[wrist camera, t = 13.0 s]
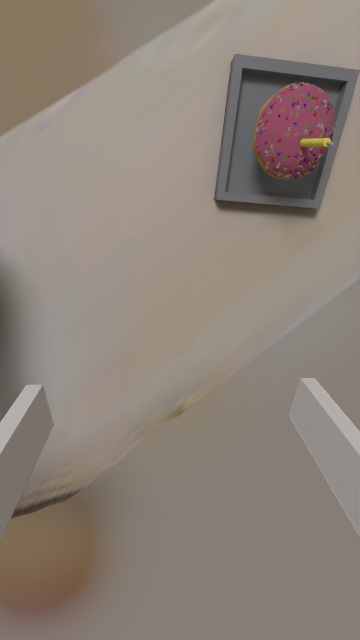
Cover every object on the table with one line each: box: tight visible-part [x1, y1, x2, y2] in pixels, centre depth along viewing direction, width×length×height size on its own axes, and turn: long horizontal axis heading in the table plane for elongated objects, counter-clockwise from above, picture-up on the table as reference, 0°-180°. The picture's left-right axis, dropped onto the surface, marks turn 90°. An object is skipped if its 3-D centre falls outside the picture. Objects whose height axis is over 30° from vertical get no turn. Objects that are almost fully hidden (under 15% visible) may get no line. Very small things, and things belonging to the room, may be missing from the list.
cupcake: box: [252, 82, 336, 179], centre depth 26 cm, size 9×8×12 cm
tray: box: [214, 54, 360, 209], centre depth 31 cm, size 14×14×2 cm
